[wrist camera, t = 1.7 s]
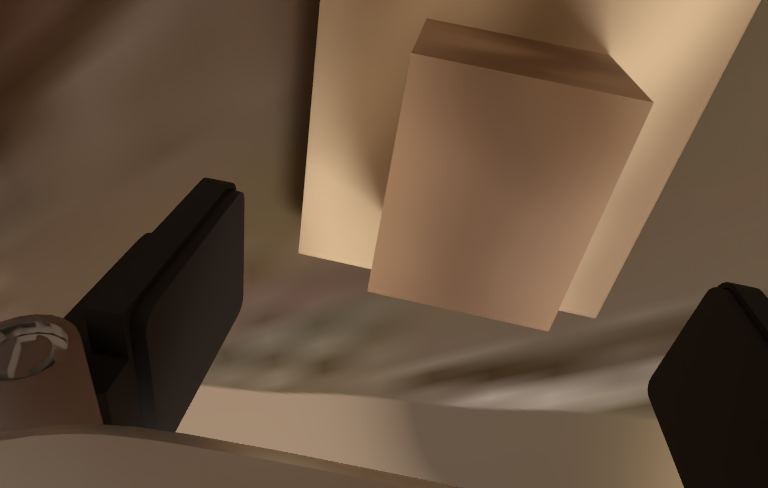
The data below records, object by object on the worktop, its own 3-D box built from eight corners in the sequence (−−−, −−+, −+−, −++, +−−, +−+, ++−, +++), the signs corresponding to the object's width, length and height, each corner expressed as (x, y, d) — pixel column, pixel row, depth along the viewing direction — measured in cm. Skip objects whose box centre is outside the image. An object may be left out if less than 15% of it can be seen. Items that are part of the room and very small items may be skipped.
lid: (755, -20, 14) (879, 11, 10) (591, 305, 21) (622, 409, 17) (335, -102, 15) (276, -107, 10) (304, 242, 22) (260, 328, 17)
